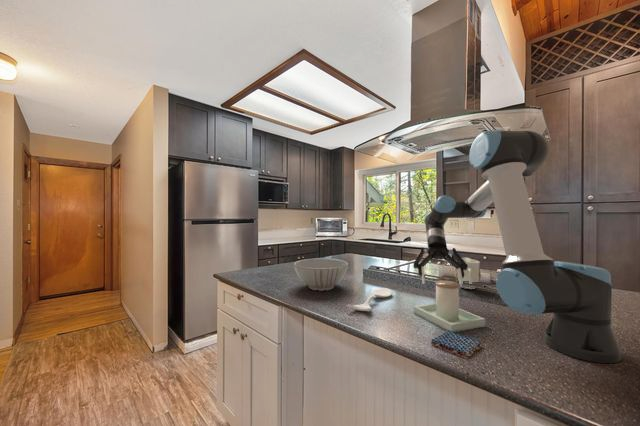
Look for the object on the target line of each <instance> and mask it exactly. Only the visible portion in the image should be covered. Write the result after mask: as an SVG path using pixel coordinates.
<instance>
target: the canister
mask: <svg viewBox="0 0 640 426" xmlns="http://www.w3.org/2000/svg"><path fill="white" fill-rule="evenodd" d="M459 289H460V287H459V284H458V283H457V281H456V282H455V281H454V280H453V281H451V280H436V281H435V303H436V316H438V317H440V318H442V319H444V320H446V321H449V322H454V321H458V320H459V308H460V307H459V306H460V305H459V303H460V302H459V300H460V299H459V297H460V295H459V293H460V292H459Z"/></svg>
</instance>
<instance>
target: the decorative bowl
mask: <svg viewBox="0 0 640 426" xmlns="http://www.w3.org/2000/svg"><path fill="white" fill-rule="evenodd" d="M348 267H349V263H348V261H345V260H342V259H337V258H307V259H301V260H297V261H295V262H294V263H293V268H294V270H295V272H296V275H297V277H298V278H299V279H300V281H301V282H302V283H304V284H305V285H306V286H308V289H309V288H310V289H309V290H311V289H312V291H316V290H319V292H321V291H322V292H323V291H324V290H326V291H331V290H333V289H334V287H335V286H336V285H337V284H339V283H340V282H341V281H342V280H343V278H344V276H345V274H346V273H347V270H348ZM324 292H325V291H324Z"/></svg>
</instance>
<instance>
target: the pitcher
mask: <svg viewBox="0 0 640 426" xmlns="http://www.w3.org/2000/svg"><path fill="white" fill-rule="evenodd" d="M461 258H462V259H463V260H464V261H465V263H466V264H467V265H468V267H467V270H464V278H462V279H463V281H469V284H472V282H479V281H480V282H481V278H482V277H481V275H482V274H481V269H480V263H481V262H480V261H479V260H477V259H472V258H470V257H464V256H463V257H461ZM457 271H458V269H456V268H455V271H454V278H455V280H456V279H458V273H457ZM458 280H459V279H458Z"/></svg>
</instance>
